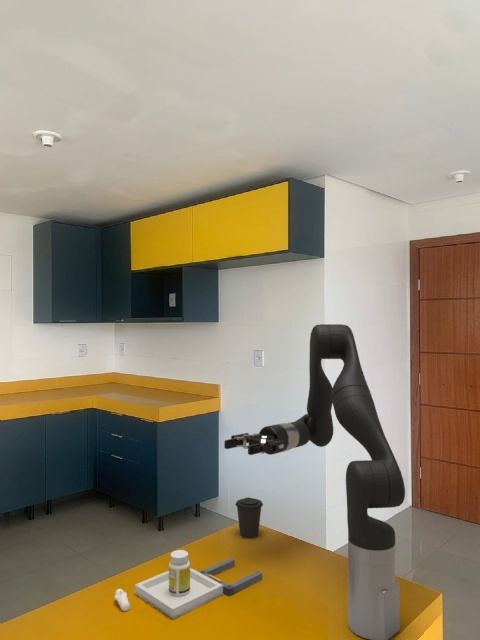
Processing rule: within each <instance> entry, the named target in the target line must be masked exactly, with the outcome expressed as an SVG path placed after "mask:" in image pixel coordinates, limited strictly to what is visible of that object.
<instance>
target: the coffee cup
mask: <svg viewBox="0 0 480 640" xmlns="http://www.w3.org/2000/svg"><path fill="white" fill-rule="evenodd" d="M235 506H236V511H237V518H238V527H239V528H238V529H239V536H240V537H242V538H244V539H254V538H255V539H256V538H257V537H259V532H260V531H259V530H260V521H261V515H262V507H263V506H264V503H263V501H262V500H261V499H258V498H253V497H245V498H240V499H238V500H237V501H236V502H235Z"/></svg>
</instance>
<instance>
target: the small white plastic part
mask: <svg viewBox="0 0 480 640" xmlns="http://www.w3.org/2000/svg"><path fill="white" fill-rule="evenodd" d="M127 595H128V594H127V592H126V591H124V590H123V589H122V588H118V589H116V590H115V592H114V599H115V600H116V602H117V603H118V605H119V607H120V609H121V611H123V612H127V611H128V610H129V609H130V605H131V604H130V601H129V599H128V596H127Z"/></svg>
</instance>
